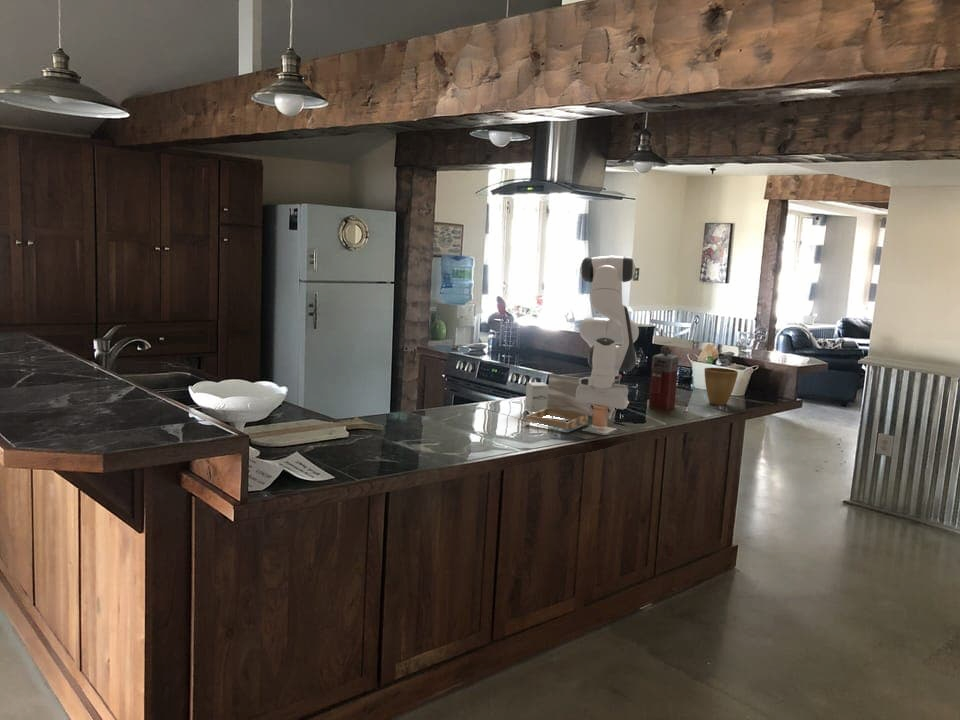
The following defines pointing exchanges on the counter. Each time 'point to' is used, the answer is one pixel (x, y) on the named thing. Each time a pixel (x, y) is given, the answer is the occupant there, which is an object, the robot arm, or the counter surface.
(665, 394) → the red liquid bottle
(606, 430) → the stone paver
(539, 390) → the supplement box
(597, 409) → the terracotta pot
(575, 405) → the cold frame
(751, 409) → the counter surface
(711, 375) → the plant pot
